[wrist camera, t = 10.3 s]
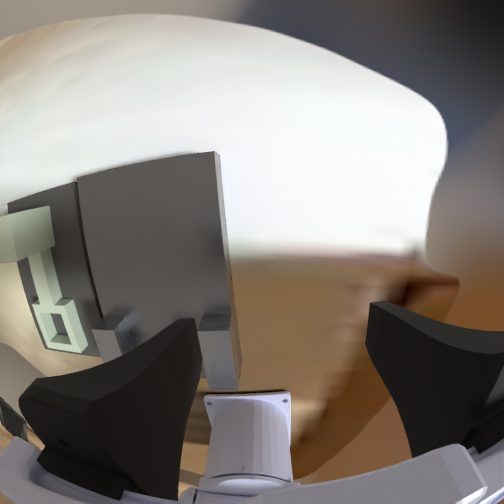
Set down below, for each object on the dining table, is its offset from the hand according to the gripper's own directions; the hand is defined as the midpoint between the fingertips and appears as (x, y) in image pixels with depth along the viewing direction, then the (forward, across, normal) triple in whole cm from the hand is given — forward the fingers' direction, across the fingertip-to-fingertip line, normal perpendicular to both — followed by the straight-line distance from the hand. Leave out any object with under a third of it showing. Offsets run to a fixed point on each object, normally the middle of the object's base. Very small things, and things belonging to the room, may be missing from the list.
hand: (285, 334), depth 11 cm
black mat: (+9, +20, 0) cm, 22 cm away
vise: (+9, +8, 0) cm, 12 cm away
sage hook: (+9, +20, 0) cm, 22 cm away
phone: (+10, +53, +31) cm, 62 cm away
